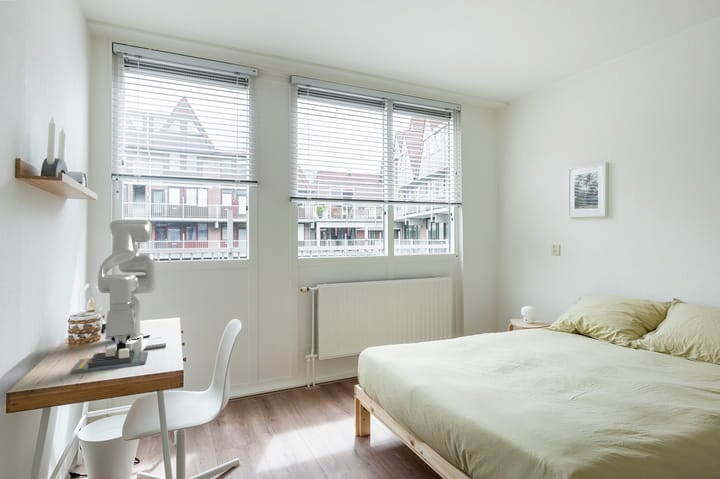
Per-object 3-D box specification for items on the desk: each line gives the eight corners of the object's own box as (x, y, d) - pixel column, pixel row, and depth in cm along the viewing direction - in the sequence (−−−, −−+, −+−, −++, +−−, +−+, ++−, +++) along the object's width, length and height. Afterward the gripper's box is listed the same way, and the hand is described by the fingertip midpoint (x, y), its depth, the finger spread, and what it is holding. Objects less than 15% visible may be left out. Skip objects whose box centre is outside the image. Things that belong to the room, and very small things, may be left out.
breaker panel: (80, 362, 159) (80, 354, 159) (147, 354, 169) (147, 347, 169) (71, 373, 146) (71, 365, 146) (145, 364, 156) (145, 356, 156)
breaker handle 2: (122, 354, 164) (122, 343, 164) (131, 353, 166) (131, 342, 166) (122, 356, 162) (121, 344, 162) (131, 355, 163) (130, 343, 163)
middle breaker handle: (106, 359, 158) (106, 347, 158) (116, 358, 159) (115, 346, 159) (105, 361, 155) (105, 349, 155) (115, 360, 157) (114, 348, 157)
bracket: (141, 354, 171) (141, 336, 171) (123, 355, 169) (122, 338, 169) (148, 346, 183) (147, 330, 183) (130, 347, 181) (130, 331, 181)
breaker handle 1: (119, 361, 155) (119, 349, 155) (129, 360, 157) (128, 348, 157) (118, 363, 153) (118, 350, 153) (128, 362, 154) (128, 349, 154)
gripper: (142, 304, 165) (143, 347, 165) (100, 307, 159) (100, 352, 159) (141, 307, 158) (141, 352, 159) (97, 310, 152) (97, 357, 152)
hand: (121, 352), depth 159 cm, fingers closed
